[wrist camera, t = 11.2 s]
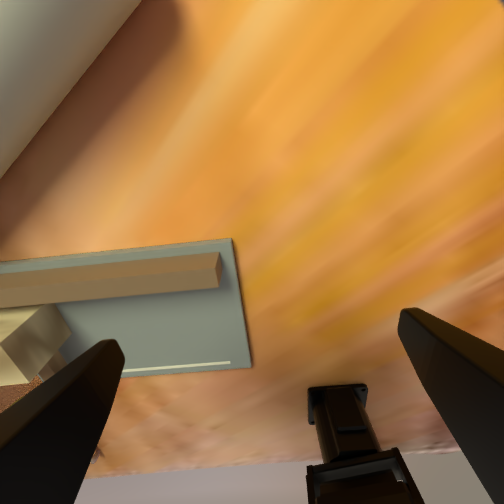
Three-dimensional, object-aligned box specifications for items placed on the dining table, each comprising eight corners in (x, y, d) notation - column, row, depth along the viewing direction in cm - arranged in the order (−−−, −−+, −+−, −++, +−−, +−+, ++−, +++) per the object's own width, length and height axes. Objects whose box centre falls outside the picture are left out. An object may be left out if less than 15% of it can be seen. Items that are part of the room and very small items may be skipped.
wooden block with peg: (97, 376, 25) (66, 428, 21) (60, 380, 25) (20, 433, 21) (51, 298, 21) (-2, 343, 16) (5, 303, 21) (-59, 350, 16)
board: (251, 360, 26) (251, 391, 23) (49, 377, 27) (24, 407, 24) (231, 238, 19) (227, 257, 16) (-31, 265, 20) (-79, 288, 17)
